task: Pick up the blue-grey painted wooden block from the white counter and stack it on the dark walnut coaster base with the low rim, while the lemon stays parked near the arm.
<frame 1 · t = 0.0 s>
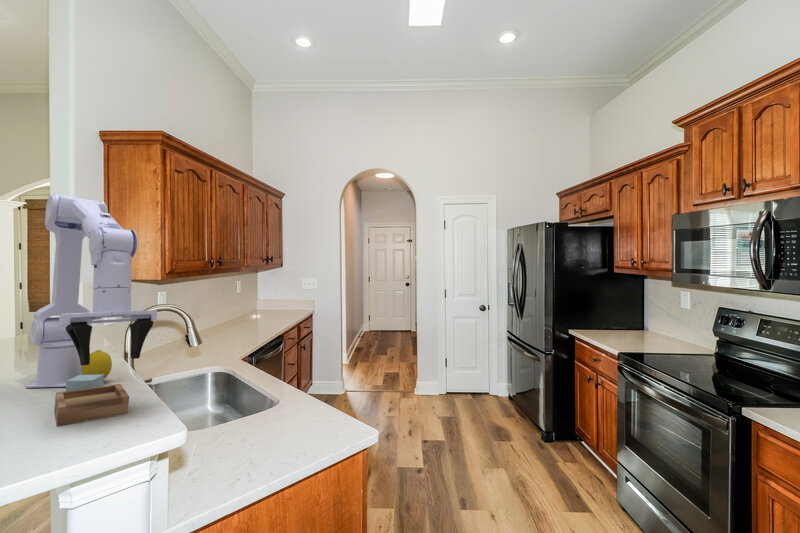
hand: (111, 361, 67), 11 cm above the table, tool pointing down, fingers open, 7 cm apart
walnut base: (91, 411, 69), on the table
block: (84, 398, 76), on the table
lemon: (95, 384, 85), on the table
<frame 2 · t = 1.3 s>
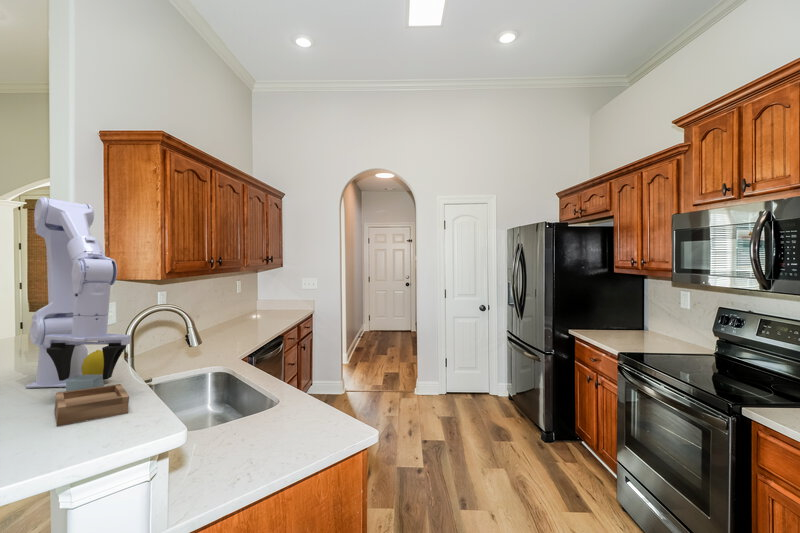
hand: (85, 378, 76), 4 cm above the table, tool pointing down, fingers open, 7 cm apart
nothing on the table moved.
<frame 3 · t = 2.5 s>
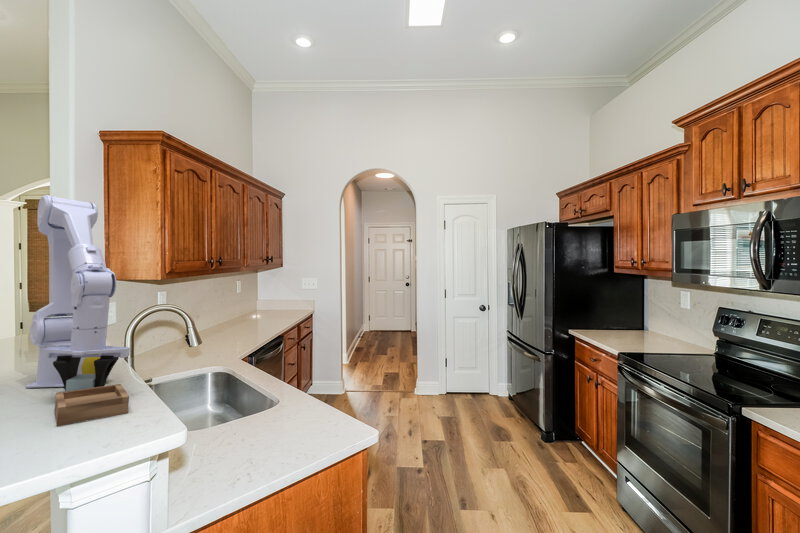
hand: (84, 391, 76), 1 cm above the table, tool pointing down, fingers closed on block, 4 cm apart
block: (84, 398, 76), on the table, touching gripper
everything else where it was.
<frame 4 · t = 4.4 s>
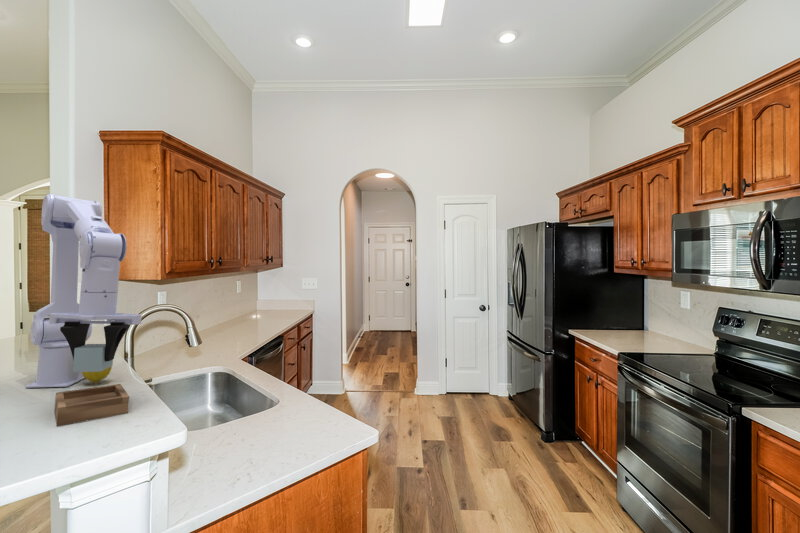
hand: (93, 360, 71), 9 cm above the table, tool pointing down, fingers closed on block, 4 cm apart
block: (93, 368, 71), point 8 cm above the table, touching gripper
everything else where it was.
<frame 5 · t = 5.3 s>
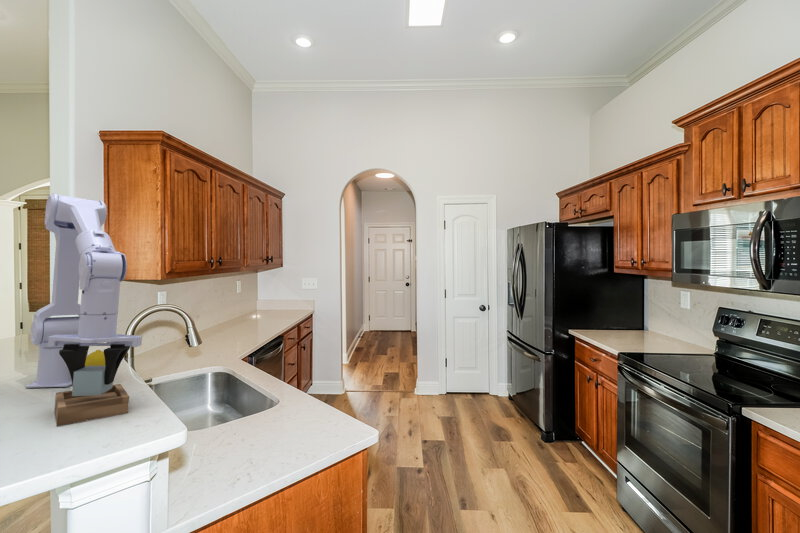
hand: (93, 383, 69), 5 cm above the table, tool pointing down, fingers closed on block, 4 cm apart
block: (92, 391, 69), point 4 cm above the table, touching gripper
everything else where it was.
when the fingers open (5 cm above the table, at t = 6.3 s): block drops 1 cm, resting on walnut base.
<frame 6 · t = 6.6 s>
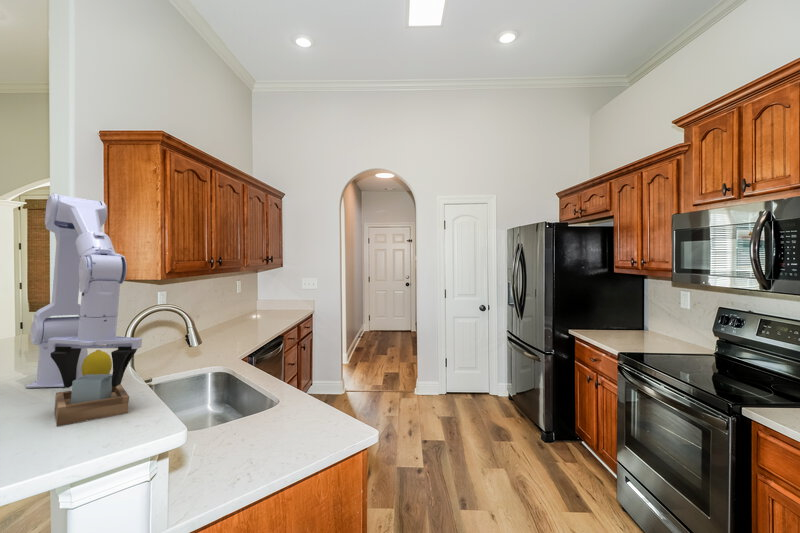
hand: (93, 385, 69), 5 cm above the table, tool pointing down, fingers open, 7 cm apart
block: (91, 400, 69), point 2 cm above the table, touching walnut base
everything else where it was.
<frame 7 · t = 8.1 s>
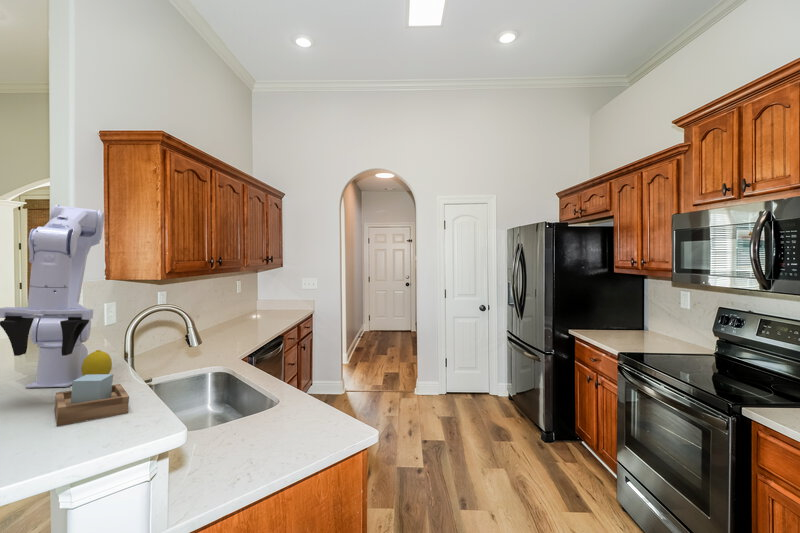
hand: (43, 354, 71), 10 cm above the table, tool pointing down, fingers open, 7 cm apart
nothing on the table moved.
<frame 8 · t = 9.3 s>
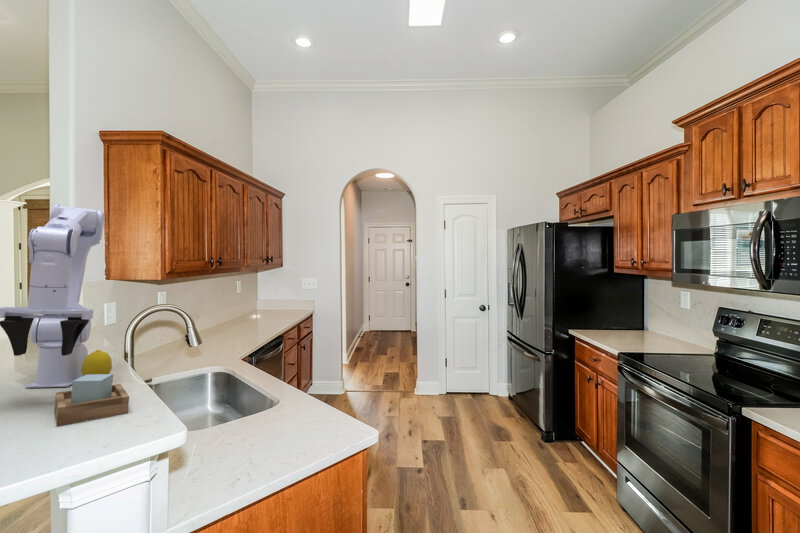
hand: (43, 354, 71), 10 cm above the table, tool pointing down, fingers open, 7 cm apart
nothing on the table moved.
at the end: block 0.1 cm off-centre on the walnut base, point 2.0 cm above the walnut base's base; block touching walnut base; the gripper is holding nothing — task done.
